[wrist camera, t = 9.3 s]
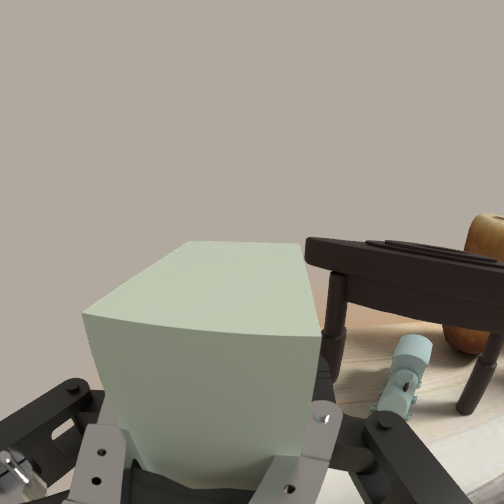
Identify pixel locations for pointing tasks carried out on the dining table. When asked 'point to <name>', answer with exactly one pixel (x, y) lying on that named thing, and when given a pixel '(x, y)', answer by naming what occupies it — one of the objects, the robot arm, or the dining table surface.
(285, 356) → the carton
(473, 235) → the butternut squash
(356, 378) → the dining table surface
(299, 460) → the robot arm
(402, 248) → the stool
